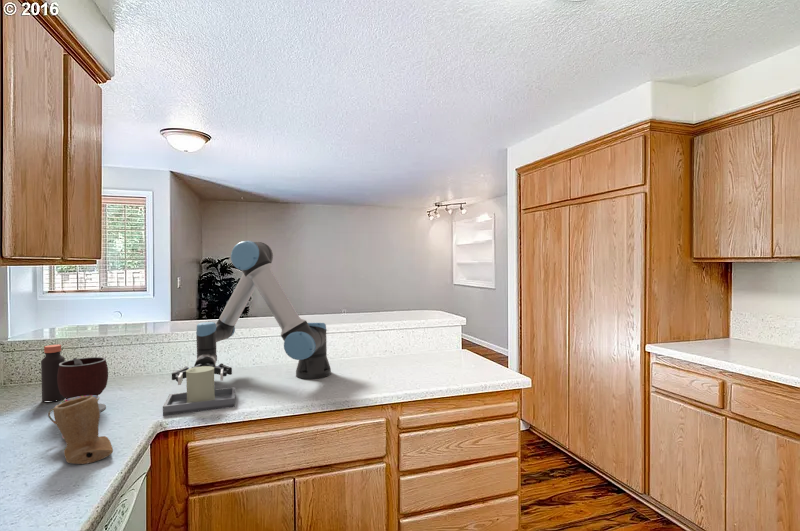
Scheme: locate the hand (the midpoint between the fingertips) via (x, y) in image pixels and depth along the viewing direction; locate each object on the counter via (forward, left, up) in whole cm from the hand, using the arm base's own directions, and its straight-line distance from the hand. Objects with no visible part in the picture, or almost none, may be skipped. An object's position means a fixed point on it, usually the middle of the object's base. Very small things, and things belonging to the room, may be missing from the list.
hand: (200, 379), depth 151 cm
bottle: (+52, -27, -9) cm, 59 cm away
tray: (0, 0, -9) cm, 9 cm away
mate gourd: (+37, -7, -9) cm, 39 cm away
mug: (+32, +17, -9) cm, 37 cm away
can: (0, 0, -8) cm, 8 cm away
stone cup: (+25, +33, -9) cm, 42 cm away
